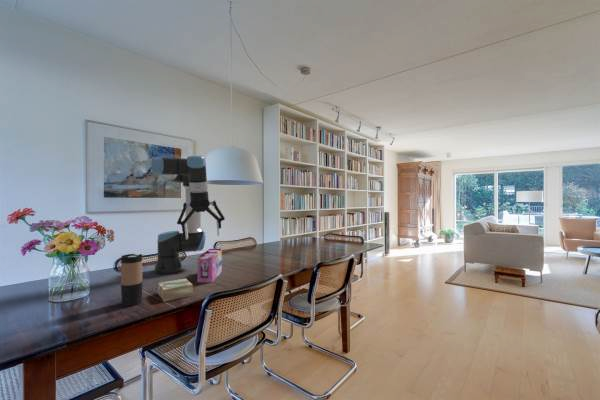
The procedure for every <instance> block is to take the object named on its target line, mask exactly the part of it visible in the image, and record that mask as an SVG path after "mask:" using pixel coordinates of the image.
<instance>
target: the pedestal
mask: <svg viewBox="0 0 600 400" xmlns="http://www.w3.org/2000/svg"><path fill="white" fill-rule="evenodd" d="M193 288H194V285H193V283H191V282H190V281H189V280H188V279H187V278H178V279H175V280H166V281H161V282H160V281H159V282H158V283H157V295H158V296H159V297H160V299H161V300H162V302H168V301H169V302H170V301H172V300H173V301H174V300H179V299H183V298H187V297H188V298H189V297H192V296H194V289H193Z"/></svg>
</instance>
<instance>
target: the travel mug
mask: <svg viewBox="0 0 600 400" xmlns="http://www.w3.org/2000/svg"><path fill="white" fill-rule="evenodd" d="M120 264H121V265H120V290H121V293H120V294H121V306H122V307H133V306H138V305H139V304H141V303H142V302H143V254H141V253H140V254H135V253H128V254H123V255H121V257H120Z"/></svg>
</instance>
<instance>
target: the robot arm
mask: <svg viewBox="0 0 600 400" xmlns="http://www.w3.org/2000/svg"><path fill="white" fill-rule="evenodd" d="M150 163H151V165H150V166H151V167H150V168H151V174H153V175H159V176H160V177H161V178H162V179H164V180H166V181H167V182H173V183H179V184H180V183H181V184H182V187H183V188H184V189H185V202H183V206H182V207H183V208H182V209H181V212H180V215H179V217H178V219H177V222H176V224H177V225H180V226H181V230H182V232H180V231H179V230H171V231H165V232H161V233H159V234H158V236H157V260H156V262H155V265H154V269H153V271H154V273H155V274H160V275H164V274H172V273H173V274H174V273H177V272H180V271H182V270H183V264H182V261H181V258H180V253H188V252H195V253H196V252H200V251H203V250H204V248H205V245H206V244H205V243H206V234H207V233H206V232H205V231H204V229H203V227H201V220H202V219H201V216H202V215H201V213H205V212H207V213H208V214H209V215H211V217H213V218H214V219H215V220H216V222H215V223H216V234H217V235H216V236H217V237H219V236H220V229H221V228H222V221H225V219H226V218H225V216H224V215H223V213H222V211H221V210H220V208H219V206H218V205H217V201H216V200H215V199H213V201H210V200H209V191H208V190H209V189H208V179H207V166H206V165H207V163H206V157H205V156H204V155H188V156H187V158H176V157H175V158H173V157H161V156H158V157H157V156H156V157H154V156H153V157H151V161H150ZM210 205H211V206H213V207H214V209H215V210H216V212H217V214H218V215H217V214H216V213H215V212H214V211H213V210H212V209H211V208H210V207H209V206H210ZM184 214H185V218H184V219H183V217H184Z"/></svg>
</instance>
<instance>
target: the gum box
mask: <svg viewBox="0 0 600 400" xmlns="http://www.w3.org/2000/svg"><path fill="white" fill-rule="evenodd" d="M222 272H223V248H209V249H207V250H205V251H204V252H203V253H201V254H200V255H198V256H197V273H196V274H197V276H196V277H197V278H196V279H197V280H196V283H213V282H214V281H215V280H216V279H217V278H218V276H219V275H220V274H222Z"/></svg>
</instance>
